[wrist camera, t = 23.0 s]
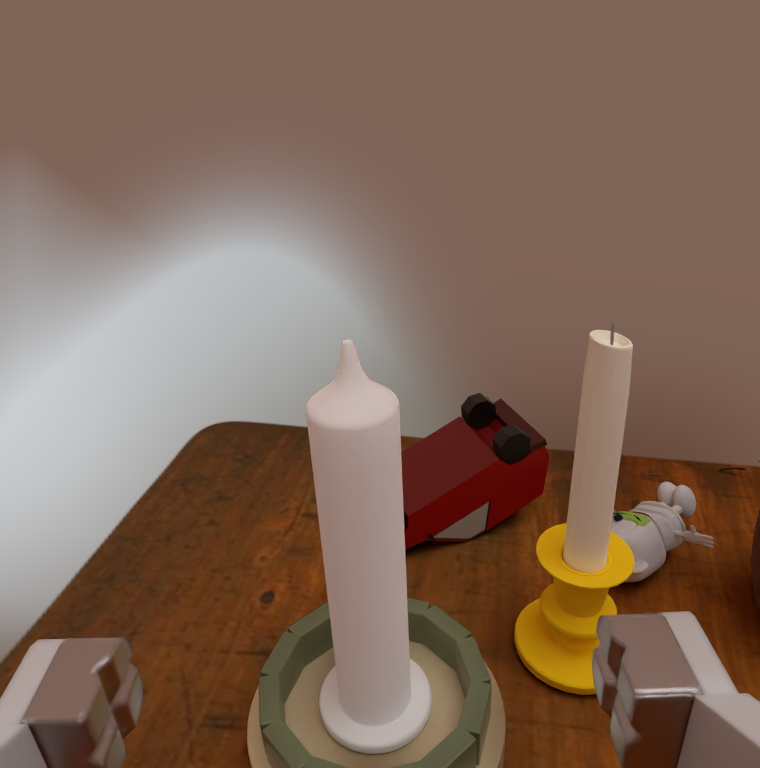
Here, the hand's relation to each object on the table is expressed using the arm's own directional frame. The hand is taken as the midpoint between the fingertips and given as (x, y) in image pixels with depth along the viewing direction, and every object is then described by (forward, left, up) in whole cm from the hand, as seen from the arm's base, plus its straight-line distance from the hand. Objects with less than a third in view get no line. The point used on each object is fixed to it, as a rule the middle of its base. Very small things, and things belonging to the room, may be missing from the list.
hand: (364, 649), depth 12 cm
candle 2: (-10, -11, -15) cm, 22 cm away
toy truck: (-6, -21, -10) cm, 24 cm away
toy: (-27, -21, -13) cm, 36 cm away
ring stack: (-1, -9, -15) cm, 18 cm away
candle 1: (-1, -9, -14) cm, 17 cm away
